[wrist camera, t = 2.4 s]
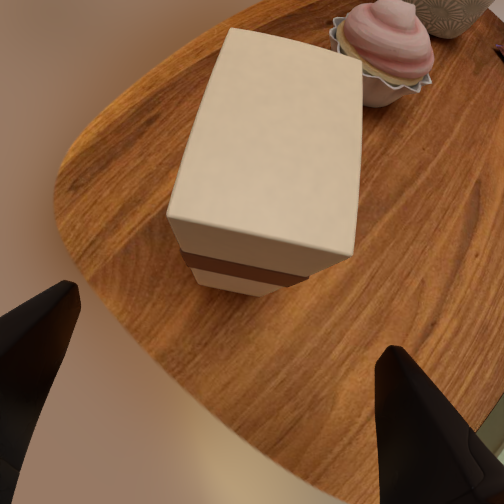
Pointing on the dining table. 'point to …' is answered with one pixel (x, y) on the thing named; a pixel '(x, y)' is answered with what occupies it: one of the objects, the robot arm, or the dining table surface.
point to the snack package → (501, 49)
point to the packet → (270, 166)
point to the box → (494, 431)
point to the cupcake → (385, 49)
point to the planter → (448, 15)
